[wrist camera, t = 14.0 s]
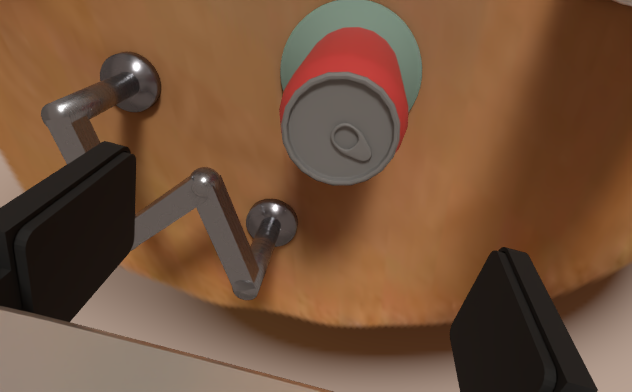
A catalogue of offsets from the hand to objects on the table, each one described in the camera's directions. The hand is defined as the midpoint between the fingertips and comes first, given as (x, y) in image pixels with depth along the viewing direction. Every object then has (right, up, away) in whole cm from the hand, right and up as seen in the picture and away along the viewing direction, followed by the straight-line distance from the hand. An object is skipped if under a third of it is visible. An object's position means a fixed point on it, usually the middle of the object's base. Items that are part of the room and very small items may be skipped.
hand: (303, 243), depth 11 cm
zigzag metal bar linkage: (-8, +5, +24) cm, 26 cm away
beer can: (+3, +10, +19) cm, 22 cm away
